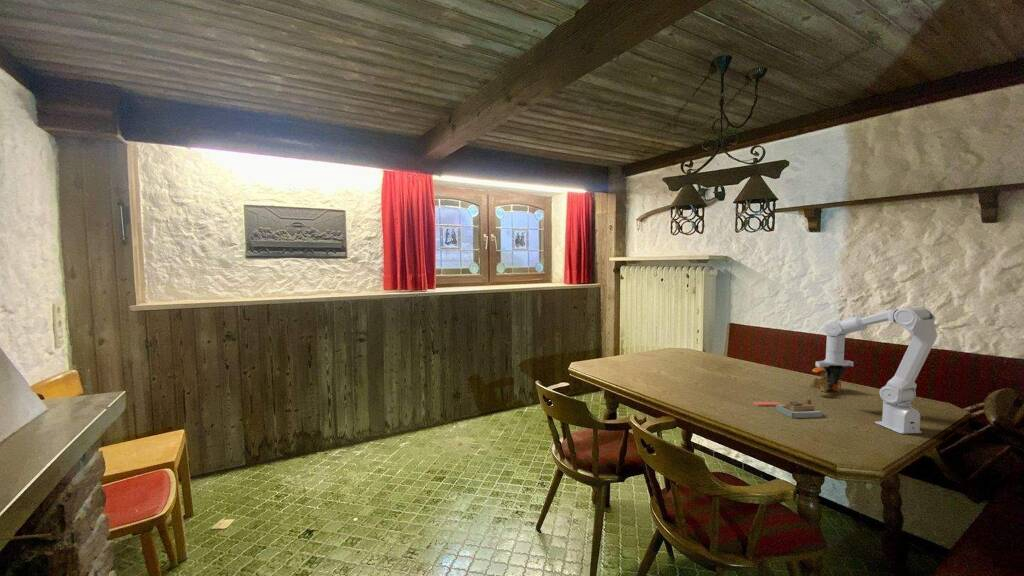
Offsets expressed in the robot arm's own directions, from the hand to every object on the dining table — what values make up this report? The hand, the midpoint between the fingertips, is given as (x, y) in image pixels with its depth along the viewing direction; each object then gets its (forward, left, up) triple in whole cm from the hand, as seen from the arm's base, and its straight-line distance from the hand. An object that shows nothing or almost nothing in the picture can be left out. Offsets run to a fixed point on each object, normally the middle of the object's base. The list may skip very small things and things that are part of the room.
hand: (833, 383), depth 163 cm
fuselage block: (-5, +18, -10) cm, 21 cm away
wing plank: (+5, +24, -10) cm, 27 cm away
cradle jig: (-5, +18, -10) cm, 21 cm away
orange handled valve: (+18, -12, -10) cm, 24 cm away
